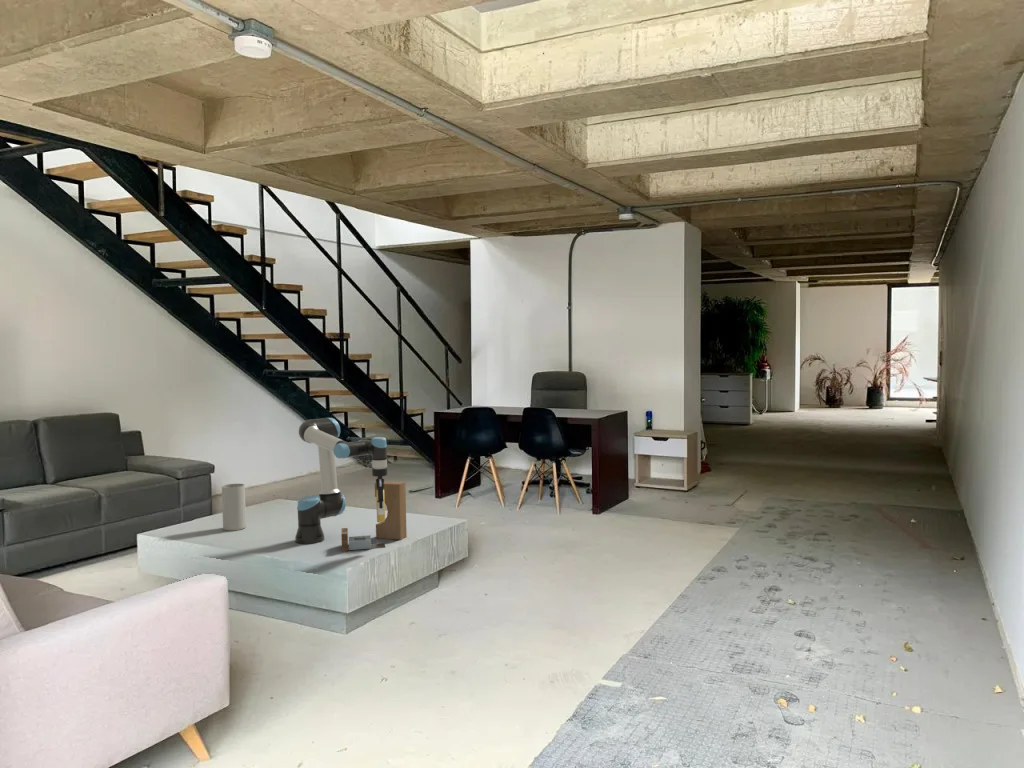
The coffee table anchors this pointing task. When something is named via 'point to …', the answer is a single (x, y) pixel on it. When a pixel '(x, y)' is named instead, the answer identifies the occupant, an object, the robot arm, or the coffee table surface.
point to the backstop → (344, 539)
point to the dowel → (379, 517)
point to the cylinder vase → (233, 507)
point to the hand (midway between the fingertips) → (380, 513)
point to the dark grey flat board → (376, 545)
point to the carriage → (359, 542)
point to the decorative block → (393, 512)
